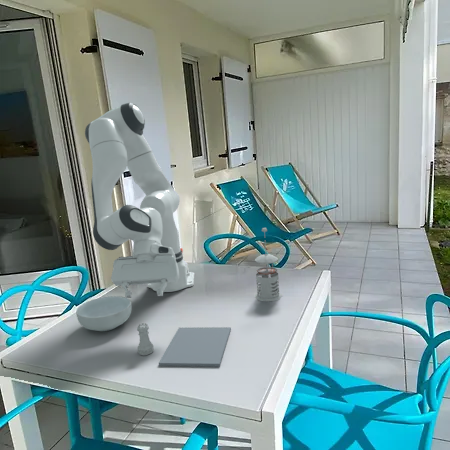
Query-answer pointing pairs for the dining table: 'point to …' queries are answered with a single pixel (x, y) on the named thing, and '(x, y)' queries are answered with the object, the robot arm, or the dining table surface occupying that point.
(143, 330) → the rook chess piece
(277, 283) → the french press
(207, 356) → the mat
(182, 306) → the dining table surface
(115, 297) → the cereal bowl
